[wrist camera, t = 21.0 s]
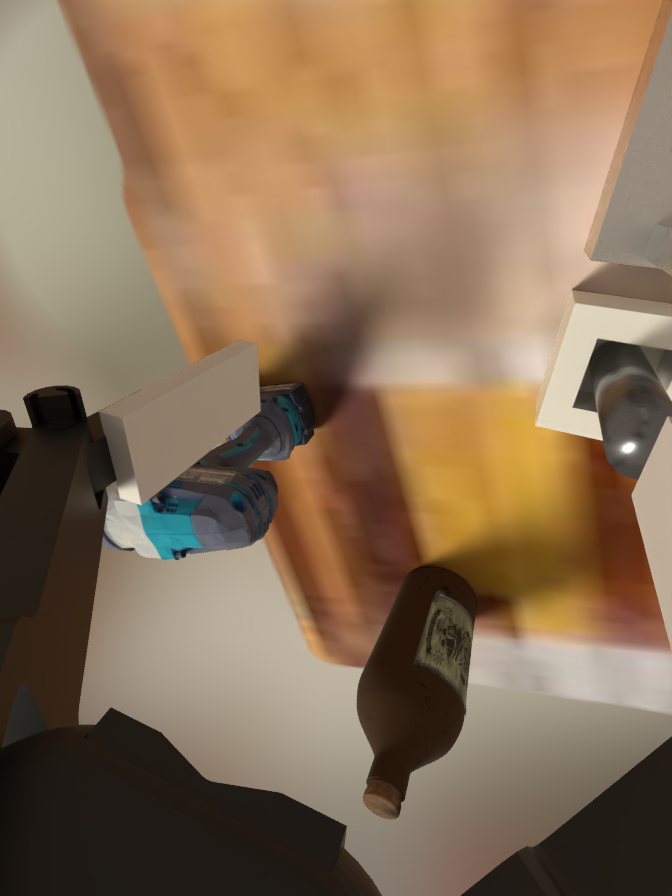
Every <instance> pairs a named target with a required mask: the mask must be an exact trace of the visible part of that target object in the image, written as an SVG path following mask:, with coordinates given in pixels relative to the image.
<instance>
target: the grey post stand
mask: <svg viewBox="0 0 672 896" xmlns="http://www.w3.org/2000/svg"><path fill="white" fill-rule="evenodd" d="M584 252H585V253H586V255H587V256H588V257H589V259H590V260H591V261H599V262H608V263H616V264H625V265H633V266H642V267H650V268H659V269H662V270H663V271H665V272H667V273H668V274H670V275H672V0H663V2H662V6H661V9H660V12H659V15H658V18H657V21H656V25H655V28H654V31H653V34H652V37H651V40H650V43H649V47H648V50H647V53H646V56H645V59H644V62H643V66H642V69H641V72H640V75H639V78H638V81H637V85H636V88H635V91H634V94H633V97H632V100H631V103H630V107H629V110H628V113H627V116H626V119H625V122H624V126H623V129H622V132H621V135H620V138H619V141H618V145H617V148H616V151H615V154H614V157H613V160H612V164H611V167H610V170H609V173H608V176H607V179H606V182H605V186H604V189H603V192H602V195H601V198H600V201H599V205H598V208H597V211H596V214H595V217H594V220H593V224H592V227H591V230H590V233H589V236H588V239H587V242H586V246H585V249H584Z"/></svg>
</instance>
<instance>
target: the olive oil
mask: <svg viewBox="0 0 672 896" xmlns="http://www.w3.org/2000/svg"><path fill="white" fill-rule="evenodd" d="M476 605H477V603H476V597H475V594H474V592H473V590H472V588H471V587H470V586H469V584H468V583H467V582H466V581H465V580H463V579H462V578H461V577H459V576H458V575H456V574H455V573H453V572H451V571H448V570H445V569H442V568H437V567H423V568H419V569H416V570H414V571H412V572H410V573H409V574H408V575H407V576H406V578H405V579H404V581H403V583H402V585H401V588H400V590H399V593H398V595H397V597H396V600H395V602H394V604H393V607H392V609H391V611H390V614H389V616H388V618H387V620H386V623H385V625H384V627H383V629H382V631H381V634H380V636H379V638H378V640H377V642H376V645H375V647H374V649H373V651H372V653H371V655H370V657H369V660H368V662H367V664H366V666H365V668H364V670H363V673H362V675H361V677H360V681H359V684H358V691H357V712H358V717H359V720H360V723H361V726H362V728H363V730H364V733H365V735H366V737H367V739H368V741H369V744H370V746H371V748H372V750H373V753H374V760H373V763H372V766H371V769H370V772H369V775H368V778H367V781H366V782H367V788H366V790H365V792H364V796H363V802H364V804H365V805H366V807H367V808H368V809H369V810H370V811H372V812H373V813H375V814H376V815H378V816H380V817H382V818H386V819H396V818H398V817H399V814H400V810H401V802H403V801H404V800H405V795H406V790H407V786H408V781H409V776H410V773H411V772H412V771H414V770H416V769H419V768H420V767H423V766H425V765H427V764H429V763H432V762H434V761H436V760H438V759H439V758H441V757H443V756H444V755H445V754H446V753H447V752H448V751H449V750H450V749H451V748H452V746H453V745H454V743H455V742H456V740H457V738H458V736H459V734H460V732H461V729H462V726H463V722H464V715H466V696H467V686H468V676H469V666H470V657H471V648H472V639H473V629H474V622H475V614H476Z"/></svg>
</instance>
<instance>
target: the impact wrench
mask: <svg viewBox="0 0 672 896" xmlns="http://www.w3.org/2000/svg"><path fill="white" fill-rule="evenodd" d="M260 408H261V411H260V412H259V413H258V414H256V415H255V416H254V417H252V418H251V419H250V420H249V421H247V422H246V423H245V424H244V425H242V426H241V427H240V428H239V429H237V430H236V431H235V432H234V433H232V434H231V435H230V436H228V437H227V438H226V439H227V441H228V442H226V443H224V444H222V445H220V446H218V447H217V448H215V449H213V450H211V451H210V452H208V453H207V454H206V455H204V456H203V457H202V458H201V459H199V460H198V461H197V462H196V463H194V464H193V465H192V466H191V467H189V468H188V469H187V470H186V471H184V472H183V473H182V474H180V475H179V476H178V477H177V478H175V479H174V480H173V481H172V482H170V483H169V484H168V485H167V486H165V487H164V488H163V489H161V490H160V491H159V492H158V493H156V494H155V495H154V496H153V497H151V498H150V499H149V500H148V501H146V502H145V503H144V504H143V505H139V504H136V503H133V502H130V501H127V500H124V499H121V498H120V496H119V492H118V488H117V484H116V481H115V482H113V483H112V484H110V485H109V486H108V487H106V491H107V495H108V505H107V512H106V519H105V526H104V533H103V540H102V545H103V546H105V547H108V548H111V549H116V550H124V551H125V550H126V551H133V550H135V549H136V550H137V552H138V553H139V555H141V556H144V557H147V558H160V559H164V560H166V559H175V560H179V559H180V558H184V557H186V554H189V553H190V554H194V553H204V552H210V551H217V550H231V549H237V548H243V547H246V546H250V545H252V544H253V543H255V542H256V541H257V540H260V539H262V538H263V537H264V535H265V533H266V532H267V530H268V529H269V524H270V523H271V522H272V520H273V517H274V514H275V511H276V509H277V506H278V489H277V484H276V482H275V479H274V477H273V475H272V474H271V473H270V472H269V471H264V470H260V469H255V468H248V467H249V466H251V465H252V464H253V463H254V462H255V461H257V460H262V461H279V460H286V459H288V458H289V457H290V453H291V452H292V450H293V449H294V447H295V446H298V445H305V444H307V443H308V441H309V440H310V439H311V438H312V436H313V435H314V429H313V428H314V425H315V416H314V413H313V408H312V406H311V400H310V398H309V395H308V393H307V392H306V390H305V389H304V387H303V385H302V383H290V384H279V385H270V386H260Z"/></svg>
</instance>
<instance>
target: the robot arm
mask: <svg viewBox="0 0 672 896" xmlns="http://www.w3.org/2000/svg"><path fill="white" fill-rule="evenodd" d="M23 400H24V402H25V406H26V408H27V412H28V415H29V417H30V420H31V424H32V428H19V427H16V426H15V423H14V420H13V417H12V415H11V413H10V412H8V411H6V410H0V896H382V895H381V893H380V892H379V890H378V888H377V887H376V885H375V884H374V882H373V880H372V879H371V878H370V876H369V875H368V874H367V873H366V871H365V870H364V869H363V868H362V866H361V865H360V864H359V863H358V861H357V860H356V859H355V858H353V857H352V856H351V855H350V854H349V853H348V852H347V851H346V850H345V849H344V844H345V836H346V828H347V826H346V825H344V824H342V823H340V822H338V821H336V820H334V819H332V818H330V817H328V816H326V815H323V814H322V813H320V812H318V811H316V810H314V809H312V808H310V807H308V806H306V805H304V804H302V803H300V802H298V801H296V800H294V799H292V798H290V797H288V796H286V795H284V794H282V793H278V792H272V791H266V790H260V789H254V788H247V787H241V786H235V785H229V784H223V783H216V782H211V781H209V780H207V779H205V778H204V777H203V776H202V775H201V774H200V773H199V772H198V771H197V770H196V769H195V768H194V767H193V766H192V765H191V764H190V763H189V762H188V761H187V760H186V759H185V757H184V756H183V755H182V754H181V753H180V752H179V751H178V750H177V749H176V748H175V747H174V746H173V745H172V744H171V743H170V742H169V741H168V739H167V738H166V737H165V736H164V735H163V734H162V733H161V732H159V731H157V730H155V729H153V728H151V727H149V726H147V725H145V724H142V723H141V722H139V721H137V720H135V719H133V718H131V717H129V716H127V715H125V714H123V713H121V712H119V711H117V710H115V709H113V708H110V709H109V710H108V711H107V712H106V714H105V715H104V716H103V717H102V718H101V720H100V721H99V722H98V723H97V724H96V725H79V720H78V712H79V702H80V696H81V688H82V681H83V674H84V667H85V660H86V653H87V646H88V639H89V632H90V624H91V618H92V611H93V604H94V597H95V589H96V582H97V576H98V568H99V562H100V554H101V547H102V540H103V533H104V526H105V519H106V512H107V505H108V495H107V491H106V487H108V486H109V485H110V484H112V483H113V482H115V481H116V484H117V488H118V492H119V496H120V498H121V499H124V500H127V501H130V502H133V503H136V504H139V505H143V504H144V503H145V502H146V501H148V500H149V499H150V498H151V497H153V496H154V495H155V494H156V493H158V492H159V491H160V490H161V489H163V488H164V487H165V486H167V485H168V484H169V483H170V482H172V481H173V480H174V479H175V478H177V477H178V476H179V475H180V474H182V473H183V472H184V471H186V470H187V469H188V468H189V467H191V466H192V465H193V464H194V463H196V462H197V461H198V460H199V459H201V458H202V457H203V456H204V455H206V454H207V453H208V452H210V451H211V450H212V449H213V448H214V447H216V446H217V445H218V444H220V443H221V442H222V441H223V440H225V439H226V438H227V437H228V436H230V435H231V434H232V433H234V432H235V431H236V430H237V429H239V428H240V427H241V426H242V425H244V424H245V423H246V422H247V421H249V420H250V419H251V418H252V417H254V416H255V415H256V414H258V413H259V412H260V411H261V408H260V387H259V366H258V345H257V343H253V342H247V341H242V340H239V341H237V342H235V343H233V344H231V345H229V346H227V347H225V348H223V349H221V350H219V351H217V352H215V353H213V354H211V355H209V356H207V357H205V358H203V359H201V360H199V361H197V362H195V363H193V364H191V365H189V366H187V367H185V368H183V369H182V370H180V371H178V372H176V373H174V374H172V375H170V376H168V377H166V378H164V379H162V380H160V381H158V382H156V383H154V384H152V385H150V386H148V387H146V388H144V389H142V390H140V391H138V392H136V393H134V394H132V395H130V396H128V397H126V398H124V399H122V400H120V401H118V402H117V403H114V404H112V405H110V406H108V407H106V408H104V409H102V410H100V411H98V412H96V413H94V414H92V415H90V416H89V417H87V416H86V412H85V408H84V404H83V401H82V397H81V393H80V390H79V389H78V388H76V387H71V386H51V387H45V388H41V389H38V390H35V391H33V392H31V393H28V394H27V395H26V396H25V397H24V398H23ZM631 496H632V500H633V504H634V507H635V511H636V515H637V519H638V523H639V527H640V531H641V534H642V538H643V542H644V546H645V550H646V554H647V558H648V561H649V565H650V569H651V573H652V577H653V581H654V585H655V588H656V592H657V596H658V600H659V604H660V608H661V612H662V615H663V619H664V623H665V627H666V631H667V635H668V639H669V642H670V646H671V650H672V417H670V416H667V418H666V421H665V423H664V425H663V427H662V429H661V432H660V434H659V436H658V438H657V440H656V443H655V445H654V447H653V449H652V451H651V453H650V456H649V458H648V460H647V462H646V464H645V467H644V469H643V471H642V473H641V475H640V478H639V480H638V482H637V484H636V486H635V488H634V491H633V493H632V495H631ZM461 896H672V737H670V738H669V739H668V740H667V741H666V742H664V743H663V744H662V745H661V746H659V747H658V748H657V749H656V750H654V751H653V752H652V753H651V754H650V755H648V756H647V757H646V758H645V759H644V760H642V761H641V762H640V763H638V764H637V765H636V766H635V767H634V768H632V769H631V770H630V771H629V772H627V773H626V774H625V775H624V776H623V777H621V778H620V779H619V780H618V781H616V782H615V783H614V784H613V785H611V786H610V787H609V788H608V789H606V790H605V791H604V792H603V793H602V794H600V795H599V796H598V797H597V798H595V799H594V800H593V801H592V802H591V803H589V804H588V805H587V806H586V807H584V808H583V809H582V810H581V811H579V812H578V813H577V814H576V815H575V816H573V817H572V818H571V819H570V820H568V821H567V822H566V823H565V824H563V825H562V826H561V827H560V828H558V829H557V830H556V831H555V832H554V833H552V834H551V835H550V836H549V837H547V838H546V839H545V840H543V841H542V842H541V843H540V844H538V845H536V846H535V847H528V846H526V847H525V848H523V849H521V850H519V851H517V852H516V853H514V854H513V855H512V856H510V857H509V858H508V859H506V860H505V861H504V862H502V863H501V864H500V865H498V866H497V867H496V868H495V869H493V870H492V871H491V872H490V873H488V874H487V875H486V876H485V877H483V878H482V879H481V880H480V881H478V882H477V883H476V884H475V885H473V886H472V887H471V888H470V889H469V890H467V891H466V892H465V893H463V894H462V895H461Z"/></svg>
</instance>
